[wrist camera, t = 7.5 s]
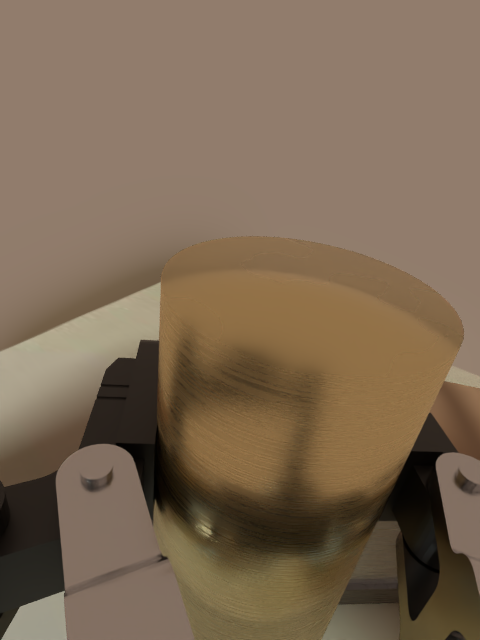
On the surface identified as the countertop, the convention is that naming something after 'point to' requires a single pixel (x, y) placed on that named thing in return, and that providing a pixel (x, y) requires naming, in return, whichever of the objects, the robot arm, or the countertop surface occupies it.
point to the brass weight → (285, 423)
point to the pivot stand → (375, 569)
